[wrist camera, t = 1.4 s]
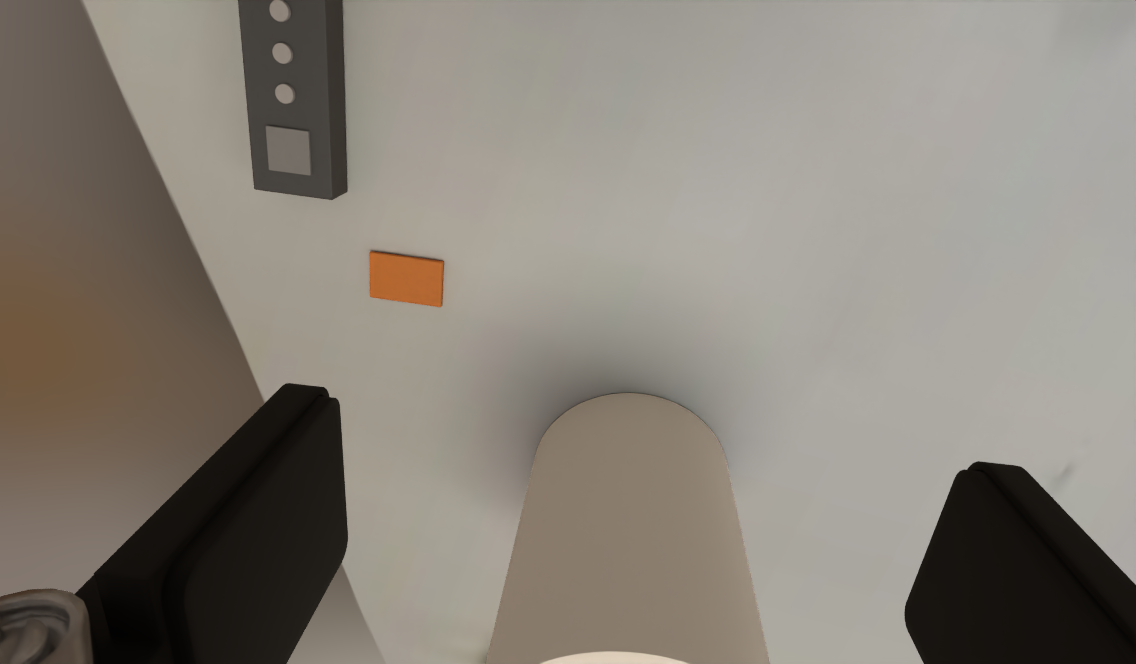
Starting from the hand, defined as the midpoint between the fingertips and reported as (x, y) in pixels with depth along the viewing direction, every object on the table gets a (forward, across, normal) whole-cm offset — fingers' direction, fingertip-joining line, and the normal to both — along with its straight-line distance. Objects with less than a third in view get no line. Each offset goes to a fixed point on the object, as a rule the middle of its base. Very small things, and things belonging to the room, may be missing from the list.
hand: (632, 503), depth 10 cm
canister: (+30, -3, +21) cm, 37 cm away
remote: (+30, +18, -4) cm, 35 cm away
